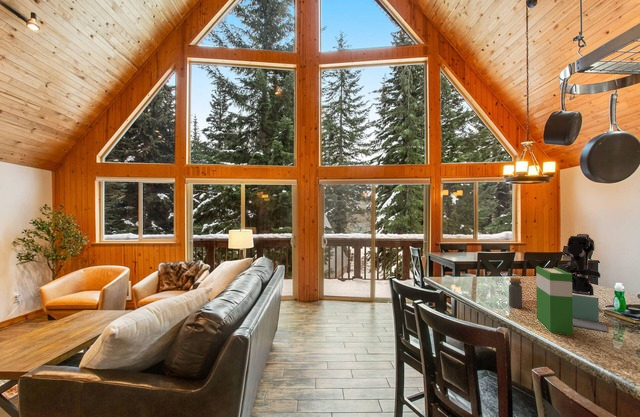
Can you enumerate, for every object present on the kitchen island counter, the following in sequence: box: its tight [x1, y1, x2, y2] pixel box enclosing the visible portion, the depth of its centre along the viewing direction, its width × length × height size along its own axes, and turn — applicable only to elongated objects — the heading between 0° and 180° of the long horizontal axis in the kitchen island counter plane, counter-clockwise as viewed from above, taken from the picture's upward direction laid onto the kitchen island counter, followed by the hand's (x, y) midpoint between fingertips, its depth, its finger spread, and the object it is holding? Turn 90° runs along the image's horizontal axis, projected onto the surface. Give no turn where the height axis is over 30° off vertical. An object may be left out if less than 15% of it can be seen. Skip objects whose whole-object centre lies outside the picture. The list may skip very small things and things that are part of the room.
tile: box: [572, 293, 600, 322], centre depth 141 cm, size 3×11×11 cm, turn 51°
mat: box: [573, 318, 609, 333], centre depth 135 cm, size 12×15×1 cm
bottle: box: [508, 276, 523, 309], centre depth 161 cm, size 6×6×15 cm
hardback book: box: [535, 265, 574, 336], centre depth 132 cm, size 18×7×24 cm, turn 160°
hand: (577, 291), depth 151 cm, fingers closed
